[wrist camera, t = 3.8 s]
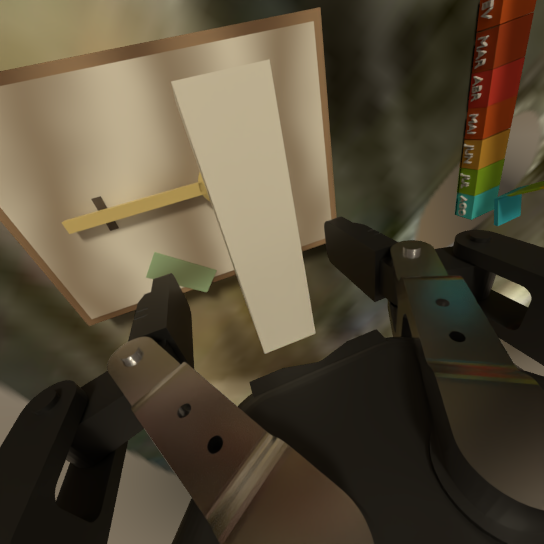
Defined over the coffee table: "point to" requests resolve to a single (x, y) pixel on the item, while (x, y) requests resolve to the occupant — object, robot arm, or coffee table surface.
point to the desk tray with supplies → (148, 158)
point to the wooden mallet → (240, 194)
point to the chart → (493, 110)
